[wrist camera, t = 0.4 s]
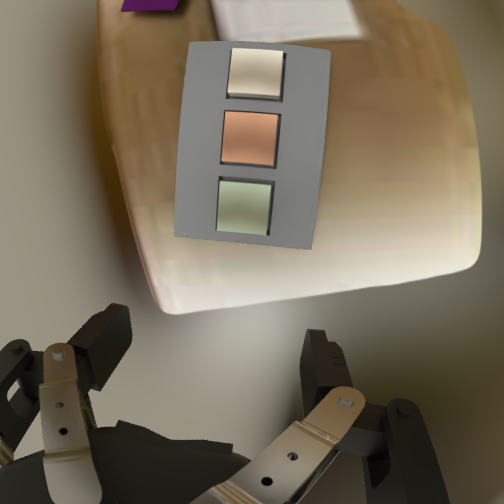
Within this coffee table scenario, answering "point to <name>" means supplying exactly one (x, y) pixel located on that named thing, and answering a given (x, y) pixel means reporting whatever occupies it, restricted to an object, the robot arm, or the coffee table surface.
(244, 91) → the cream tile
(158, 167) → the coffee table surface
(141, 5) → the perfume bottle
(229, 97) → the tile board
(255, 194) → the sage tile
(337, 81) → the coffee table surface
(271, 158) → the terracotta tile
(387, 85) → the coffee table surface
